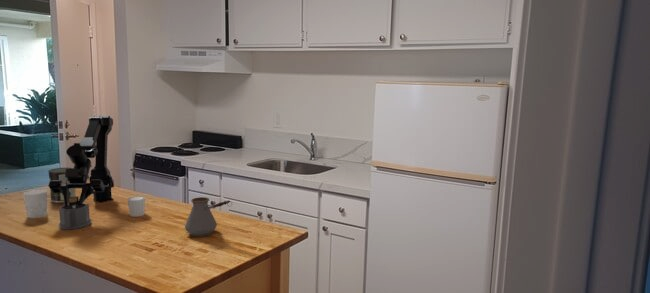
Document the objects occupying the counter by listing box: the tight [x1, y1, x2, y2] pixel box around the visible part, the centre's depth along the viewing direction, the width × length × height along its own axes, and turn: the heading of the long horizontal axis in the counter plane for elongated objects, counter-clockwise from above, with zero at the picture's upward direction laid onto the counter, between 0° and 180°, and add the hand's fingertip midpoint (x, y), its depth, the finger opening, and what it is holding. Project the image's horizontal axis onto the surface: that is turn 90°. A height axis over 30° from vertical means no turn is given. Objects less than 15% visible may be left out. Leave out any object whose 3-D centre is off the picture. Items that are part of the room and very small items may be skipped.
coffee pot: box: [184, 196, 233, 237], centre depth 160 cm, size 21×12×15 cm, turn 57°
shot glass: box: [127, 195, 146, 218], centre depth 184 cm, size 7×7×7 cm
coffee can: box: [47, 167, 77, 204], centre depth 203 cm, size 10×10×14 cm
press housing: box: [58, 202, 92, 231], centre depth 169 cm, size 13×11×8 cm
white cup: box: [23, 189, 48, 219], centre depth 180 cm, size 8×8×10 cm
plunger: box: [68, 195, 80, 209], centre depth 169 cm, size 7×7×8 cm
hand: (72, 205), depth 168 cm, fingers open, 4 cm apart
